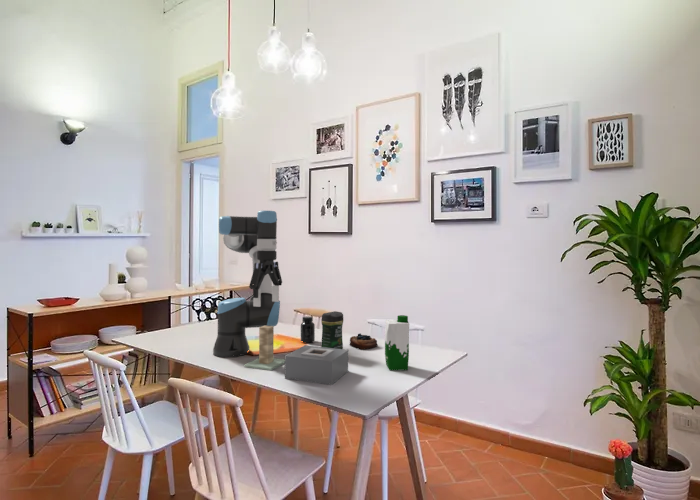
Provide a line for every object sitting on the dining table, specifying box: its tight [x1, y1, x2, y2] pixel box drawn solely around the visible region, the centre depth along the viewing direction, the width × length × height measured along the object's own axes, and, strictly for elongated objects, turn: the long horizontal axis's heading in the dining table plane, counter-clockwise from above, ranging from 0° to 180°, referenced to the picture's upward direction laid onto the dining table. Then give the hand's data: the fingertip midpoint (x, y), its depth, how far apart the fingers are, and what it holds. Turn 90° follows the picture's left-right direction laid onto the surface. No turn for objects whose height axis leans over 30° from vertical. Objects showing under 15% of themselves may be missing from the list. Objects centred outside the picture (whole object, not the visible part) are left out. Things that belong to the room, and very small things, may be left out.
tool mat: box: [243, 357, 285, 371], centre depth 160 cm, size 12×12×1 cm
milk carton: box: [384, 314, 410, 371], centre depth 157 cm, size 9×9×20 cm
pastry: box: [349, 333, 378, 351], centre depth 190 cm, size 11×12×6 cm
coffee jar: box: [320, 310, 344, 349], centre depth 174 cm, size 10×8×19 cm
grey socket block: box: [284, 344, 349, 386], centre depth 148 cm, size 18×16×8 cm
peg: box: [258, 326, 275, 364], centre depth 160 cm, size 4×4×14 cm
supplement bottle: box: [300, 316, 316, 344], centre depth 197 cm, size 7×7×12 cm
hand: (266, 303), depth 160 cm, fingers open, 13 cm apart
